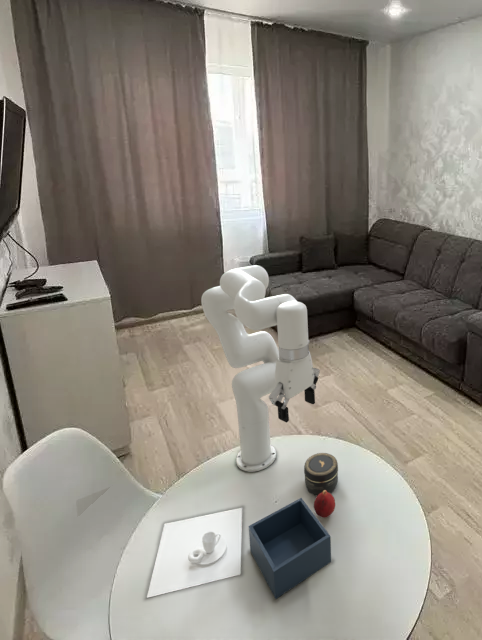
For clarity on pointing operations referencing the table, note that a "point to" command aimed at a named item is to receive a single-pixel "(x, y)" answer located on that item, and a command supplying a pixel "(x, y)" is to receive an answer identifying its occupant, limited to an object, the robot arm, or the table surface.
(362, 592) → the table surface
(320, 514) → the pomegranate
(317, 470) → the jar
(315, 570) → the bin
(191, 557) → the teacup and saucer
